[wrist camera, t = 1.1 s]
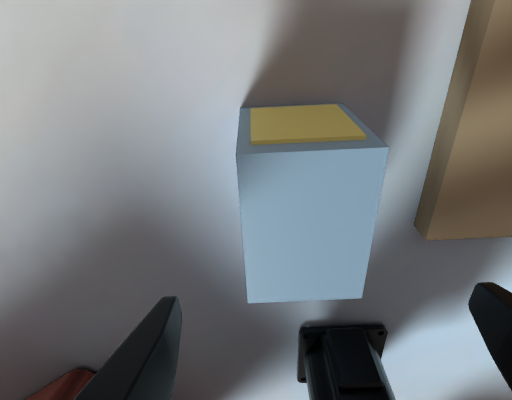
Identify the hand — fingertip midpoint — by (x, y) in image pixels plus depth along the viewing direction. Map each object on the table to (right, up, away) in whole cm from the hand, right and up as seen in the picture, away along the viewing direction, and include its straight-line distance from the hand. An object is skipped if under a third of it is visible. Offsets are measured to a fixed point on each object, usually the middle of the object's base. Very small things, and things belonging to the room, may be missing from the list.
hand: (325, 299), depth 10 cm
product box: (0, +5, +8) cm, 9 cm away
